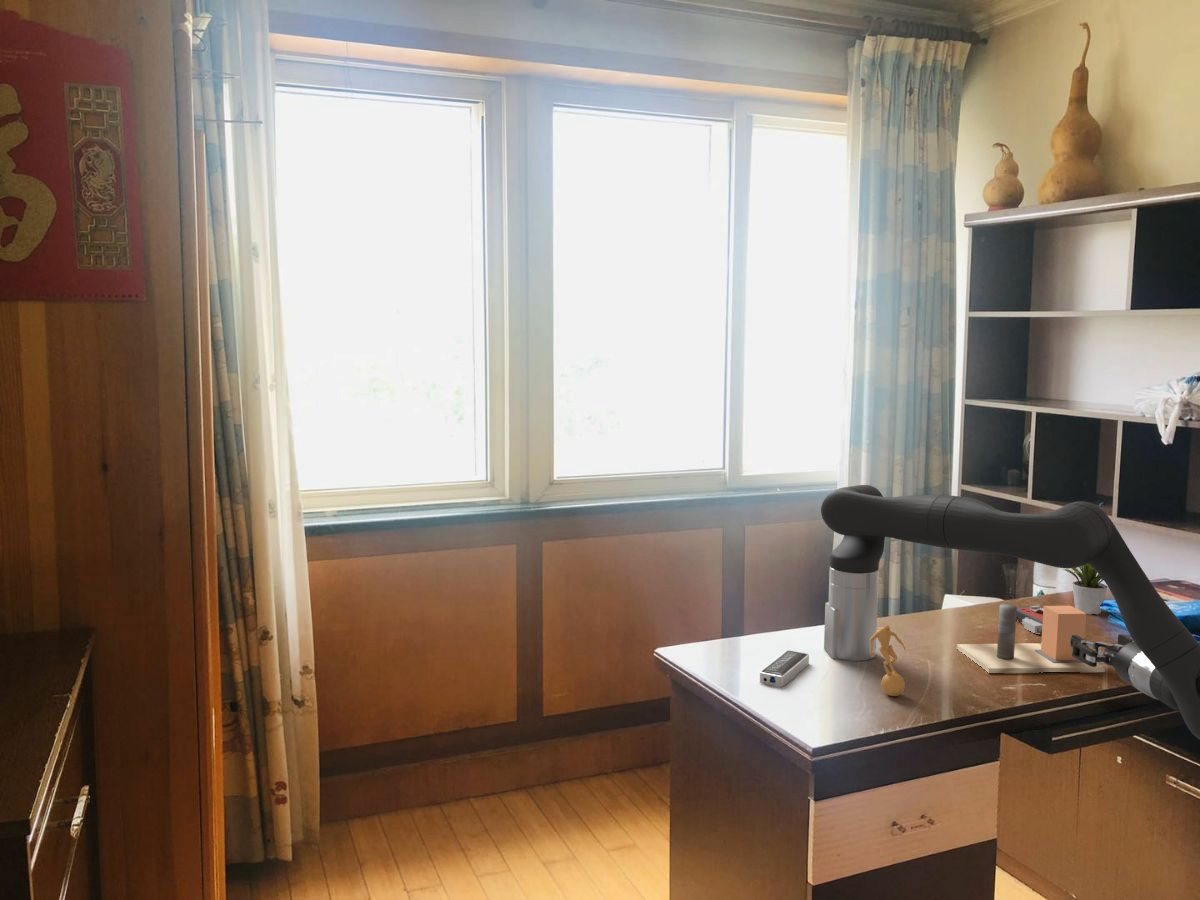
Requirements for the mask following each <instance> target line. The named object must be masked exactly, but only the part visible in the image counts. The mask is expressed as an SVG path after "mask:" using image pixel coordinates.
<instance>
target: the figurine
mask: <svg viewBox="0 0 1200 900" xmlns="http://www.w3.org/2000/svg"><path fill="white" fill-rule="evenodd" d="M890 628H891V627H890V626H889V625H885V626H878V627H877V628H876V633H875V634H874V635H873V636H872V637H871V638H870V640H869V642H870V656H872V659H873V657H874V655H875V656H876V653H875V654H874V653H873V652H872V651H873V645H872V644H873V640H874V639H876V640H878V642H879V644H880V646H881V647H880V648H879V651H880V653H881V655H882V657H883V658H884V661H883V666H884V670H885V672H886V674H884V675H883V677H882V679H881V681H880V685H881V689H882V691H883V692H884V693H885V694H886V695H887V696H890V697H898V696H900V695H902V693H904V691H905V688H906V682H905V680H904V677H903V676H902V675H900V674H899V673H898V671H896V669H895V668H894V665H893V664H894V663H895V662H896V661H897V660H898V655H897V654H896V652H895V651H894V648H893V645H892V644H890V642H891V641H890V640H891V636H892V637H894V638H895V639H896V640H897V642H898V643H899V644H900V645H901V646H902V647H903V649H904V651H906V647H905V645H904V643H903V642H902V640H901V639H900V638H899V637H898V635H897V633H895V632H893V631H891V629H890ZM873 654H874V655H873ZM874 658H875V657H874ZM888 664H889V667H890V669H891V671H890V670H889V668H888V666H887V665H888Z"/></svg>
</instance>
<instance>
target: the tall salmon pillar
mask: <svg viewBox="0 0 1200 900" xmlns="http://www.w3.org/2000/svg"><path fill="white" fill-rule="evenodd" d="M1042 608H1043V625H1042V634H1041V642H1040V643H1041V651H1042V652H1043V653H1045V654H1046V655H1048V656H1050V657H1051V658H1053V659H1054V660H1078V659H1076V658H1075V657H1073V656H1072V651H1073V647H1071V646H1070V641H1071V638H1072V635H1078V636H1080V637H1081V638H1083V639H1085V640H1086V626H1087V625H1086V624H1087V614H1086V613H1084V612H1082V611H1080V610H1078V609H1076V608H1075V606H1072V605H1043V607H1042Z"/></svg>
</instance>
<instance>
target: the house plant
mask: <svg viewBox="0 0 1200 900" xmlns="http://www.w3.org/2000/svg"><path fill="white" fill-rule="evenodd" d="M1070 569H1071V570H1070ZM1070 569H1065V568H1062V571H1065V572H1067V573H1069V574H1071V575H1072V576H1074V577H1075V578H1076V580H1074V581H1072V585H1071V586H1072V591H1073V593H1072V594H1073V599H1074V600H1073V602H1074V608H1076V609H1078V610H1080V611H1082V612H1084V613H1086V615H1091V614H1096V615H1100V614H1101V613H1102V610H1101V609H1100V605H1101V604H1102V603H1103V604H1104V602H1105V598H1106V593H1107V590H1108V586H1107V584H1106V583H1105V584H1104V583H1102V582H1103V581H1104V580H1103V579H1102V577H1101V576H1100V575H1099V574H1098V573H1097V571H1096V570H1095V569H1094V568H1093V567H1092V566H1091V565H1090V564H1088V563H1087V564H1085V565H1083V566H1080V567H1077V568H1070ZM1079 569H1080V570H1079ZM1072 570H1073V571H1074V572H1073V571H1072ZM1079 578H1080V579H1079ZM1099 613H1100V614H1099Z"/></svg>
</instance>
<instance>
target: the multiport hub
mask: <svg viewBox="0 0 1200 900" xmlns="http://www.w3.org/2000/svg"><path fill="white" fill-rule="evenodd" d="M809 664H810V654H808V653H806V652H805V653H804V652H798V651H794V650H793V651H792V650H786V651H785V652H784V653H783V654H781V655H780V656H778V657H777V658H776V659H775V660H773V661H772V662H771V663H769V664H768V665H767V666H766V667H764V668H763V669H762V670H760V672H759V683H760V684H765V685H770V686H775V687H779V688H782V687H784V686H785V685H787V684H788V683H789V682H790V681H791V680H792V679H794V678H793V677H794V676H795V677H796V676H797V675H798V674H799V673H800V672H802V671H803V670H804V669H805V668H806V667H807V666H809Z"/></svg>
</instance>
